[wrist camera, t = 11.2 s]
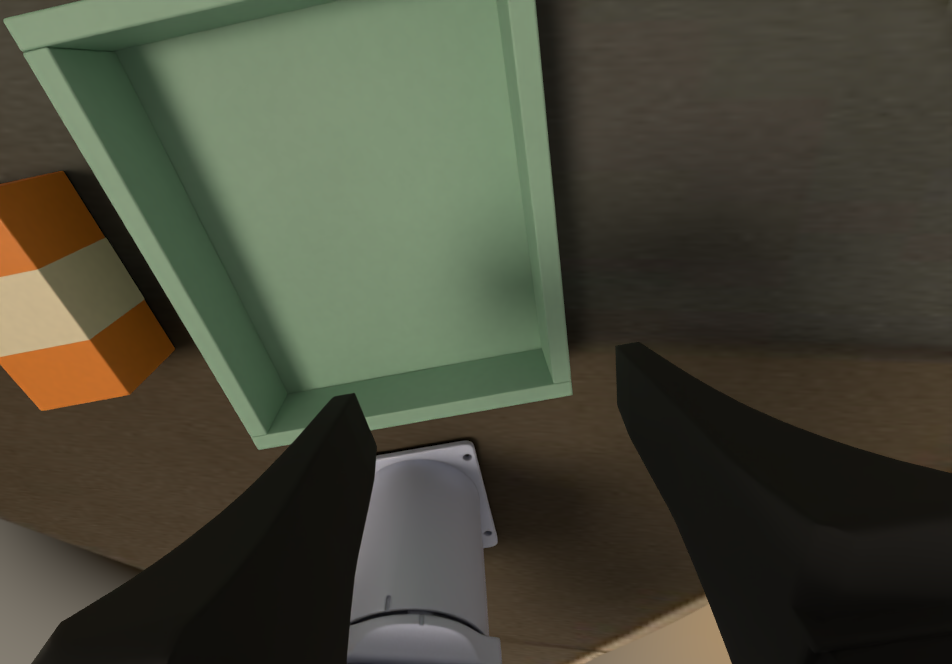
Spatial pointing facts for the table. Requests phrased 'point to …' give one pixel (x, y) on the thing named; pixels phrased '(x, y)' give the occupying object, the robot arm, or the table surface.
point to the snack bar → (68, 301)
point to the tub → (328, 193)
